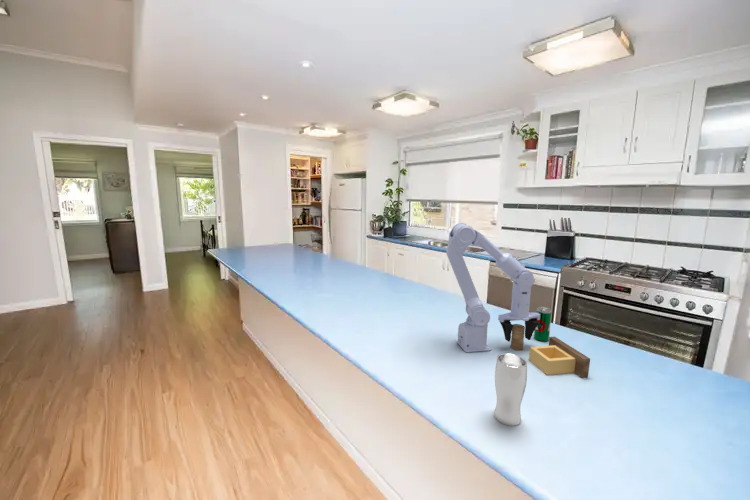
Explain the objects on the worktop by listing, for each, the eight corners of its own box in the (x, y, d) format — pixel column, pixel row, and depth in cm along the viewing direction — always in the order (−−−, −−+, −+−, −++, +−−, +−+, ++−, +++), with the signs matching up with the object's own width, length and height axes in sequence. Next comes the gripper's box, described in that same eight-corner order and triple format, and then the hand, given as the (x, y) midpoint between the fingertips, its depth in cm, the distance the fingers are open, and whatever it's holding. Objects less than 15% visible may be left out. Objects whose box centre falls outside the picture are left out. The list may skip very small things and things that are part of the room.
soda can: (550, 342, 118) (553, 311, 116) (535, 341, 119) (538, 310, 117) (546, 336, 123) (549, 306, 121) (532, 335, 124) (534, 305, 122)
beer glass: (487, 408, 82) (491, 353, 79) (513, 407, 82) (518, 352, 80) (500, 428, 75) (504, 368, 72) (528, 426, 75) (534, 367, 73)
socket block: (547, 374, 97) (548, 361, 96) (528, 359, 106) (530, 347, 105) (574, 372, 98) (575, 358, 97) (553, 357, 107) (555, 345, 106)
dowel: (514, 350, 112) (516, 328, 110) (508, 345, 116) (510, 324, 114) (525, 349, 112) (527, 328, 111) (518, 344, 116) (520, 323, 115)
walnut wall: (581, 378, 95) (584, 359, 94) (547, 353, 110) (549, 336, 109) (587, 377, 95) (590, 358, 94) (553, 353, 110) (554, 336, 109)
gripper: (507, 307, 106) (504, 346, 108) (547, 305, 108) (543, 343, 111) (496, 300, 113) (493, 337, 115) (534, 298, 115) (531, 334, 117)
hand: (517, 339), depth 113 cm, fingers open, 7 cm apart
